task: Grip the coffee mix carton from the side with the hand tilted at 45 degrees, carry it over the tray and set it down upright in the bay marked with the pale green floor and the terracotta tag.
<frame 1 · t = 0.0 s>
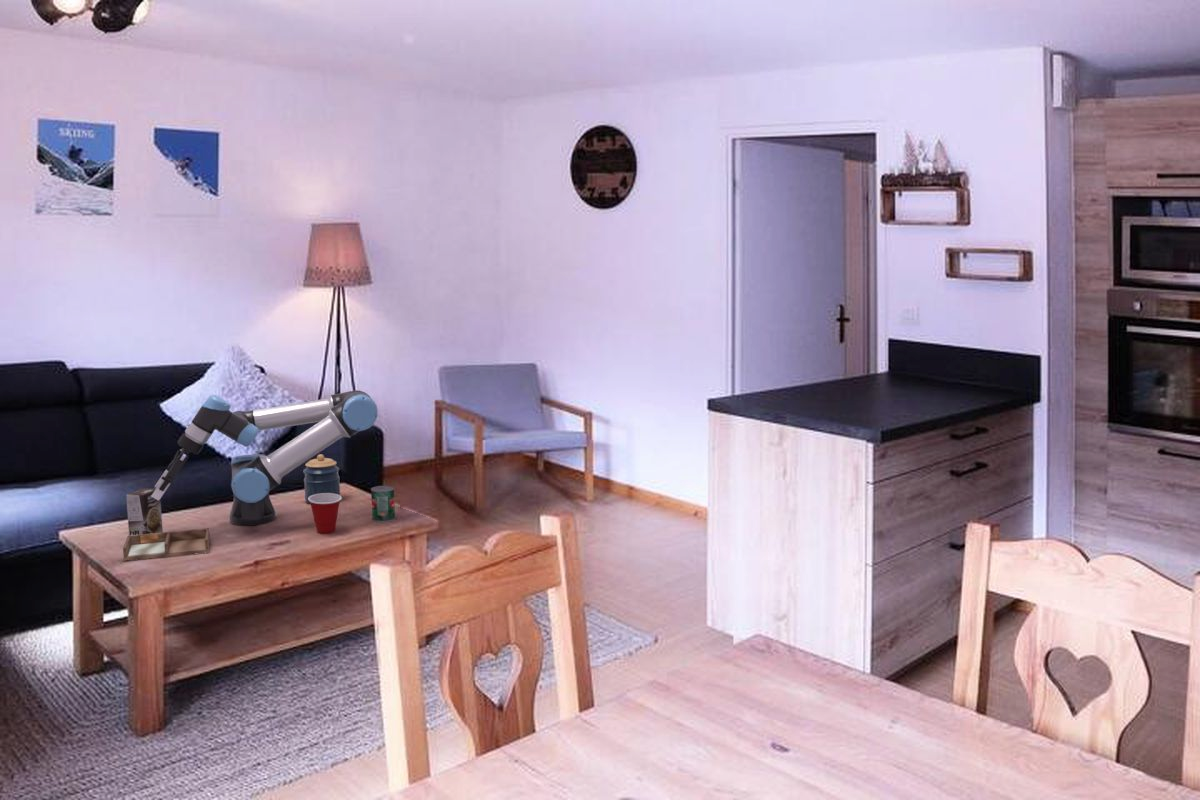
hand: (156, 493, 329), 15 cm above the table, tool tilted 35°, fingers open, 13 cm apart
canister: (323, 501, 379), on the table
canned tomato: (383, 519, 353), on the table
plastic cup: (326, 532, 338), on the table
coffee box: (146, 539, 331), on the table
tray: (168, 550, 319), on the table
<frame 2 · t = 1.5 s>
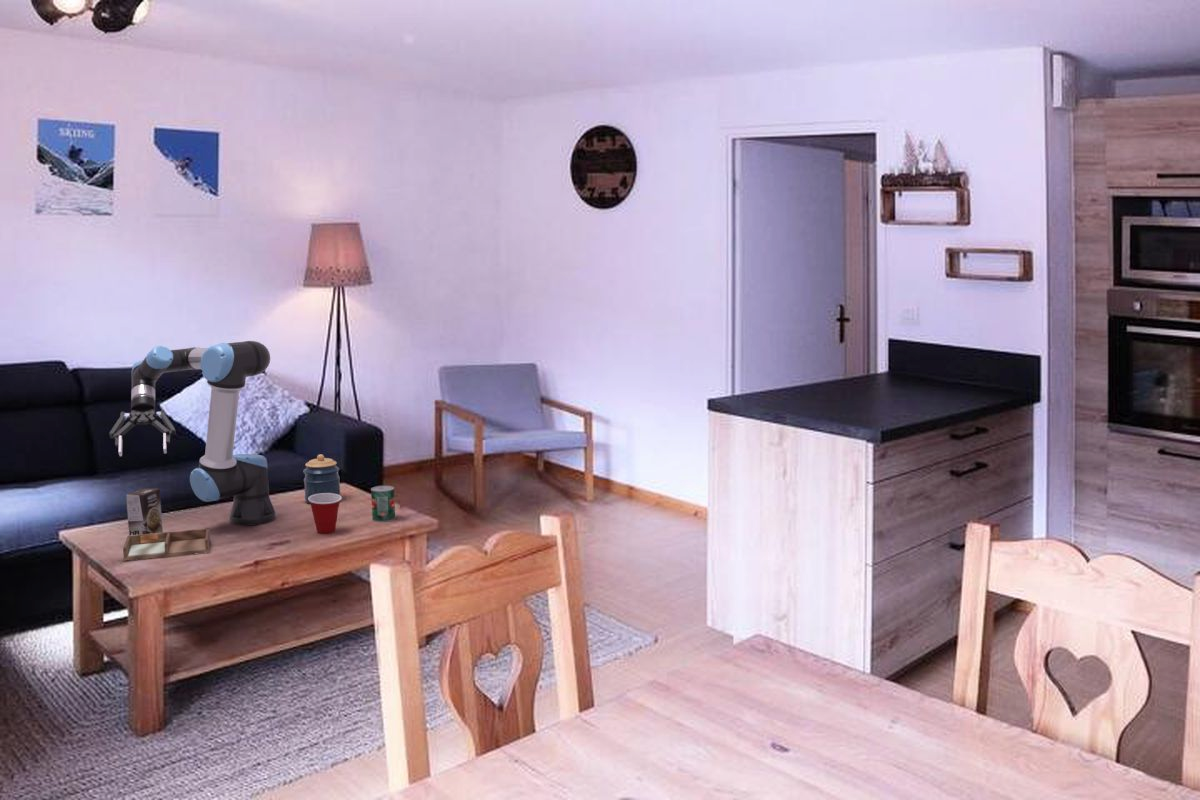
hand: (142, 452, 337), 27 cm above the table, tool tilted 45°, fingers open, 13 cm apart
nothing on the table moved.
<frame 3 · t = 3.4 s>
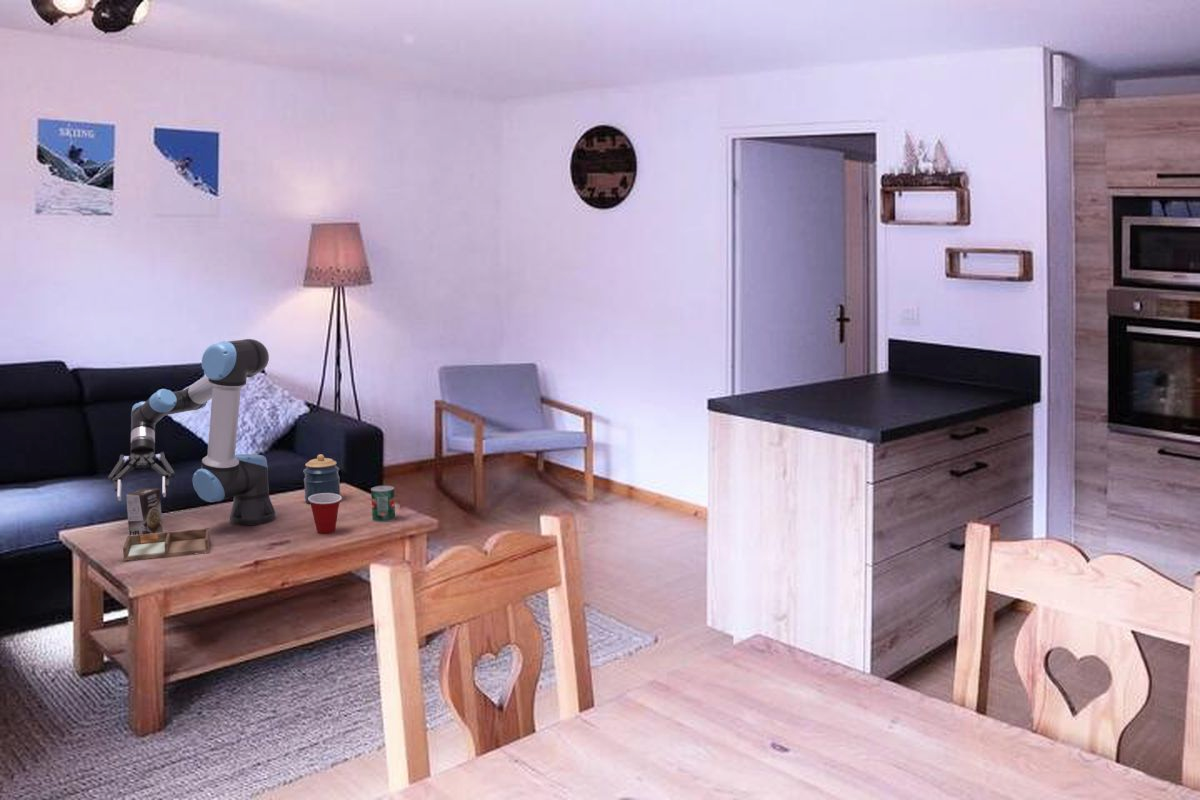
hand: (141, 496, 335), 13 cm above the table, tool tilted 45°, fingers open, 13 cm apart
nothing on the table moved.
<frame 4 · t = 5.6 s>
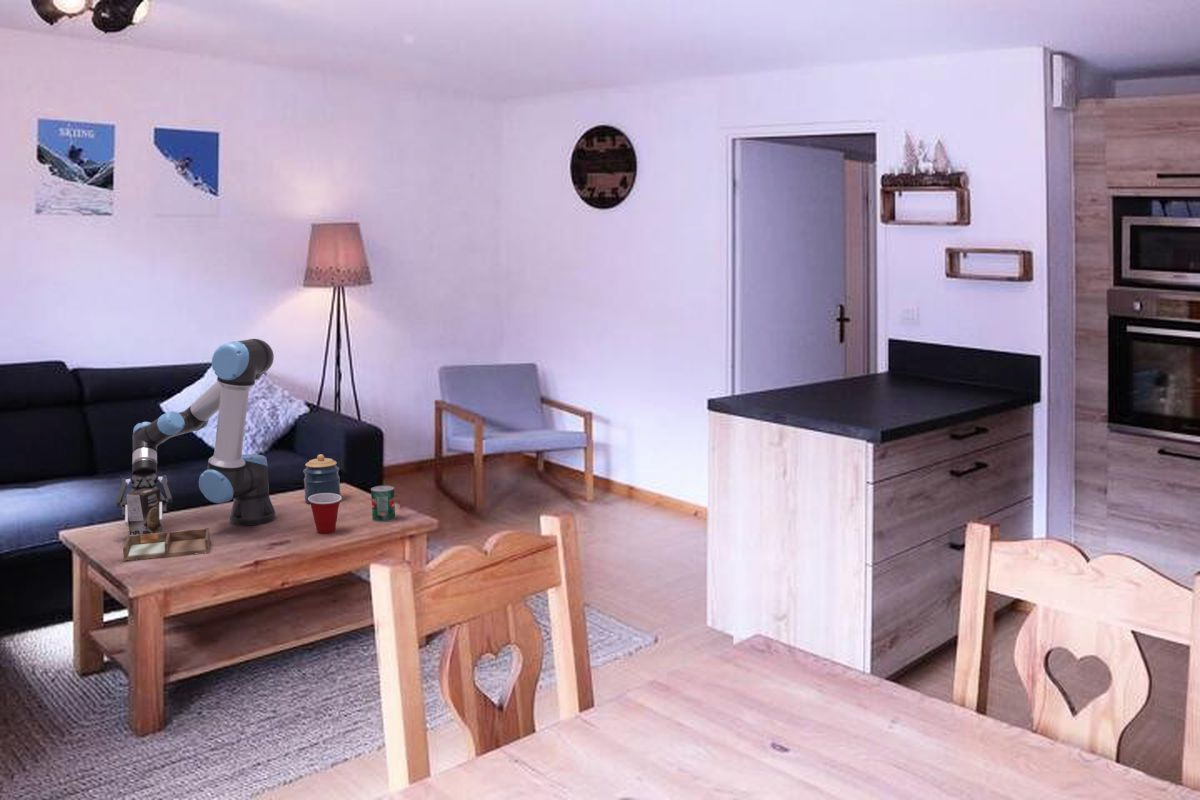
hand: (144, 522, 327), 6 cm above the table, tool tilted 45°, fingers closed on coffee box, 9 cm apart
coffee box: (147, 539, 331), on the table, touching gripper
everything else where it was.
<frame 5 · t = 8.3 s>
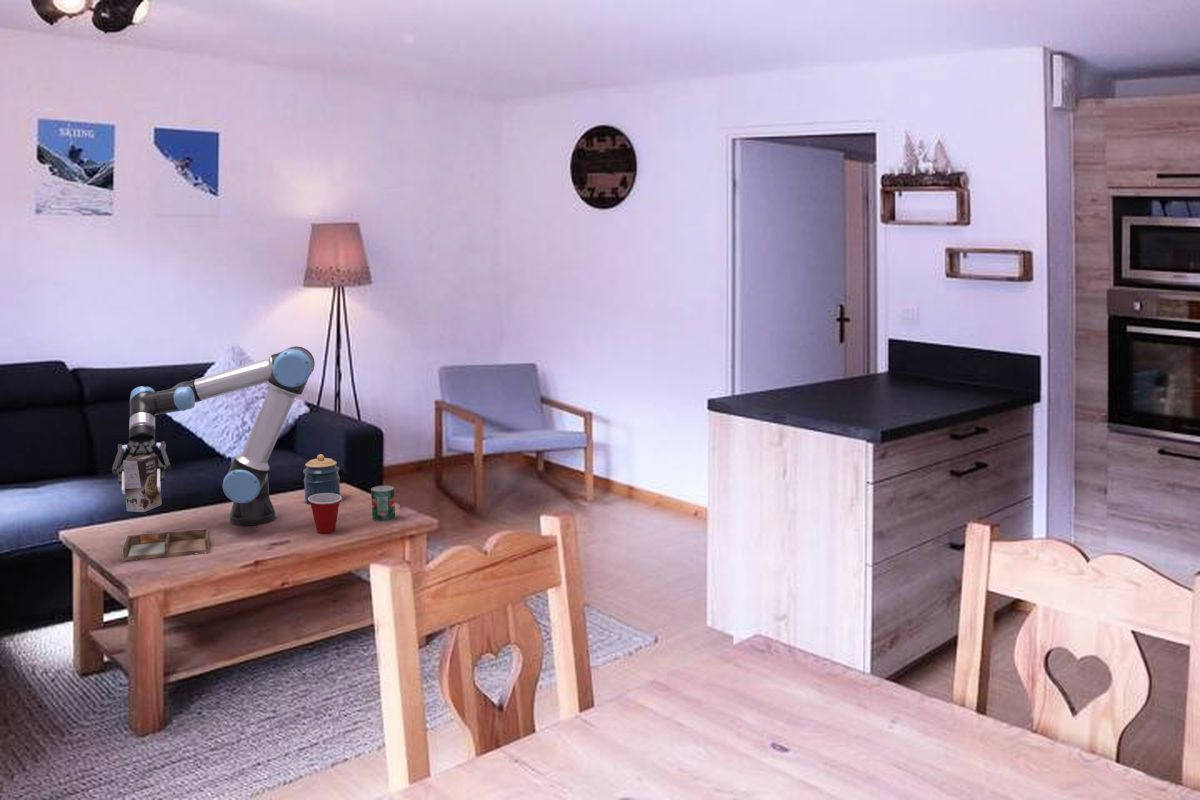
hand: (141, 490, 311), 21 cm above the table, tool tilted 45°, fingers closed on coffee box, 9 cm apart
coffee box: (144, 508, 315), point 14 cm above the table, touching gripper
everything else where it was.
when the fingers open (9 cm above the table, at t = 11.0 s): coffee box drops 1 cm, resting on tray.
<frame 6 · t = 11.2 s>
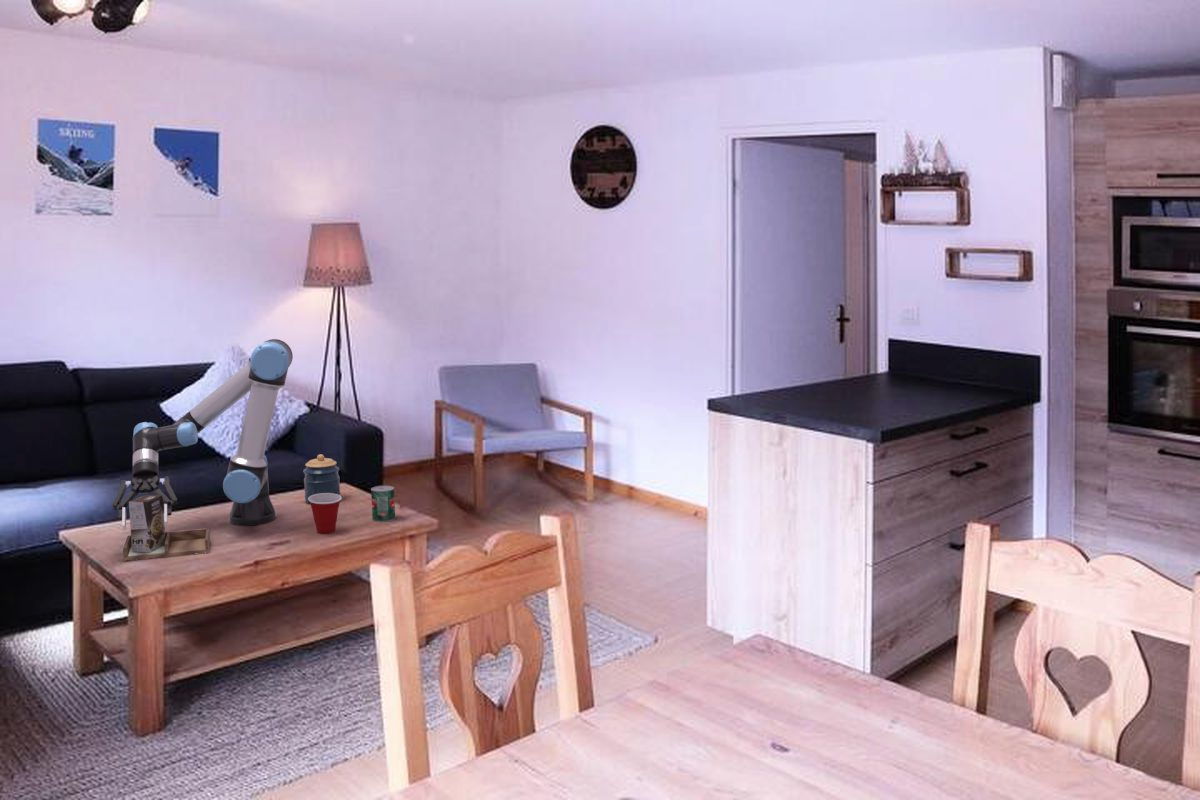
hand: (145, 525, 313), 9 cm above the table, tool tilted 45°, fingers open, 11 cm apart
coffee box: (149, 548, 317), point 1 cm above the table, touching tray
everything else where it was.
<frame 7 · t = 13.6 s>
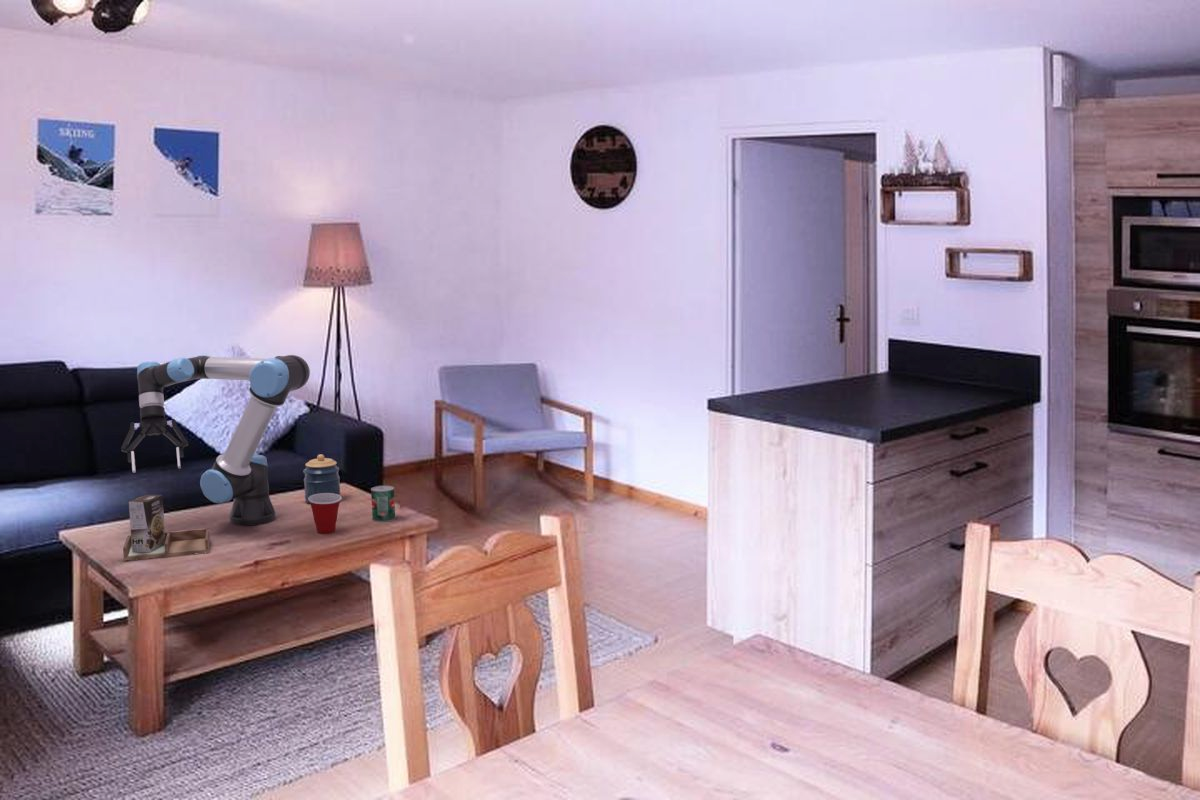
hand: (156, 469, 332), 22 cm above the table, tool tilted 25°, fingers open, 13 cm apart
nothing on the table moved.
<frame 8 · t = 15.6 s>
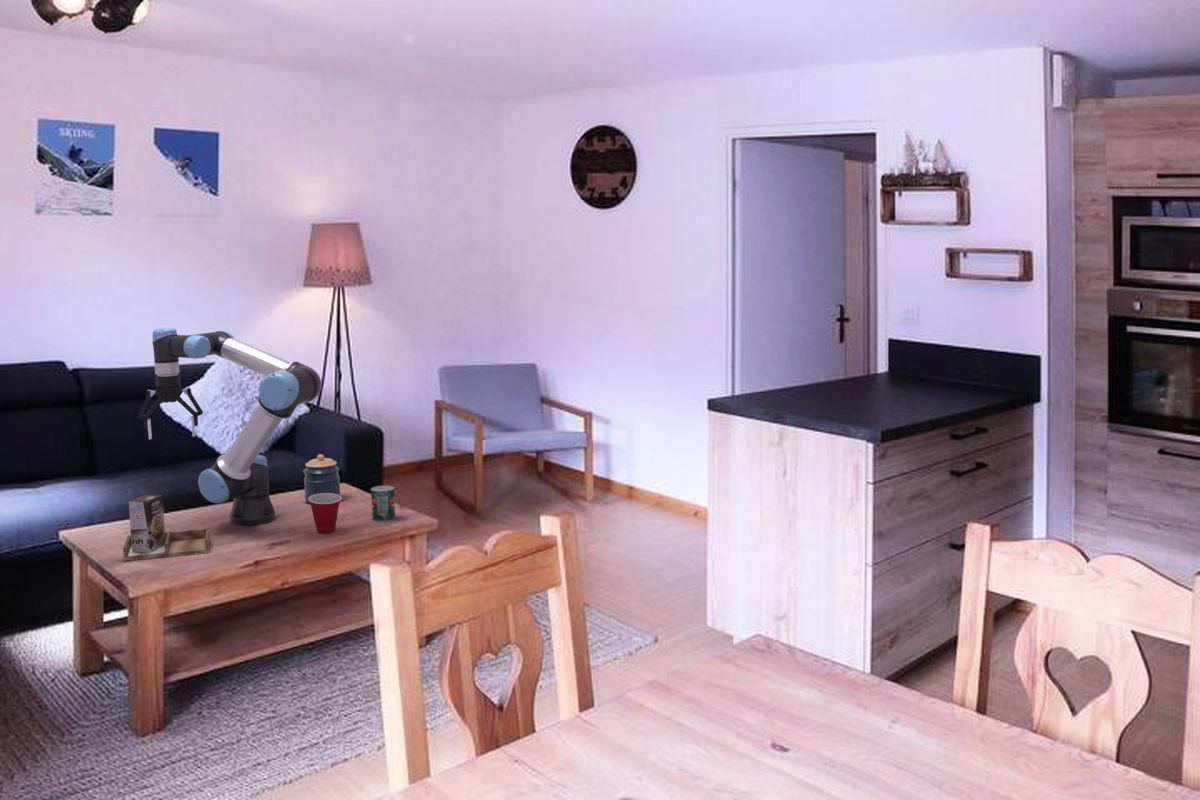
hand: (172, 437, 342), 31 cm above the table, tool pointing down, fingers open, 13 cm apart
nothing on the table moved.
at the end: coffee box inside the target area on the tray (0.9 cm from its centre), point 1.2 cm above the tray's base; coffee box tilted 0°; coffee box touching tray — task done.
